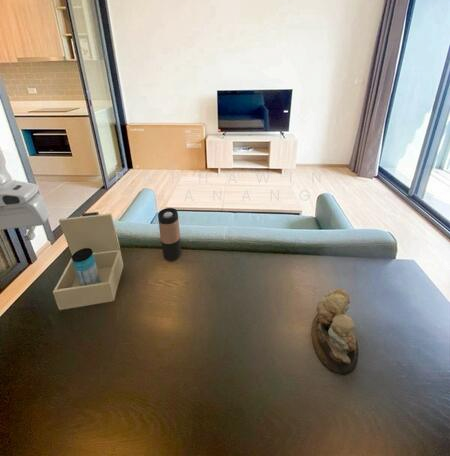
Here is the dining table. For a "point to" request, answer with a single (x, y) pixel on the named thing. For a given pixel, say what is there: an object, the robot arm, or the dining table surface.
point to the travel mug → (170, 233)
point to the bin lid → (90, 232)
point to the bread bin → (95, 293)
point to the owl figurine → (335, 333)
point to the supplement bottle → (85, 267)
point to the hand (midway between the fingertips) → (10, 241)
